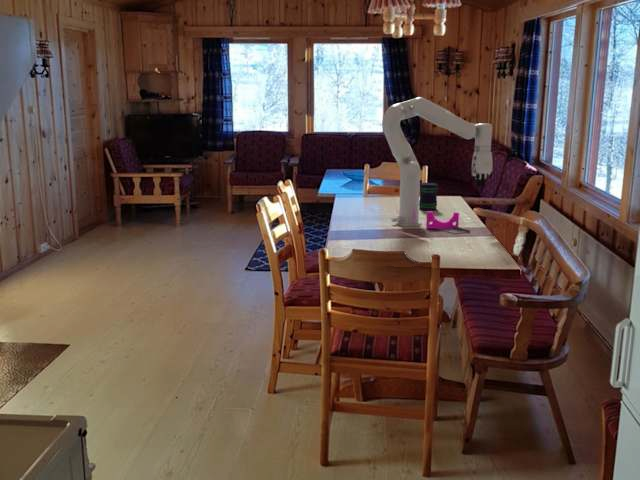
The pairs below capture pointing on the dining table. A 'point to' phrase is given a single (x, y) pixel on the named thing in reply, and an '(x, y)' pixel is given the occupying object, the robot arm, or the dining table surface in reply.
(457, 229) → the stop rail
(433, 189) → the storage jar
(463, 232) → the felt mat
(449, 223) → the toy block
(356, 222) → the dining table surface
